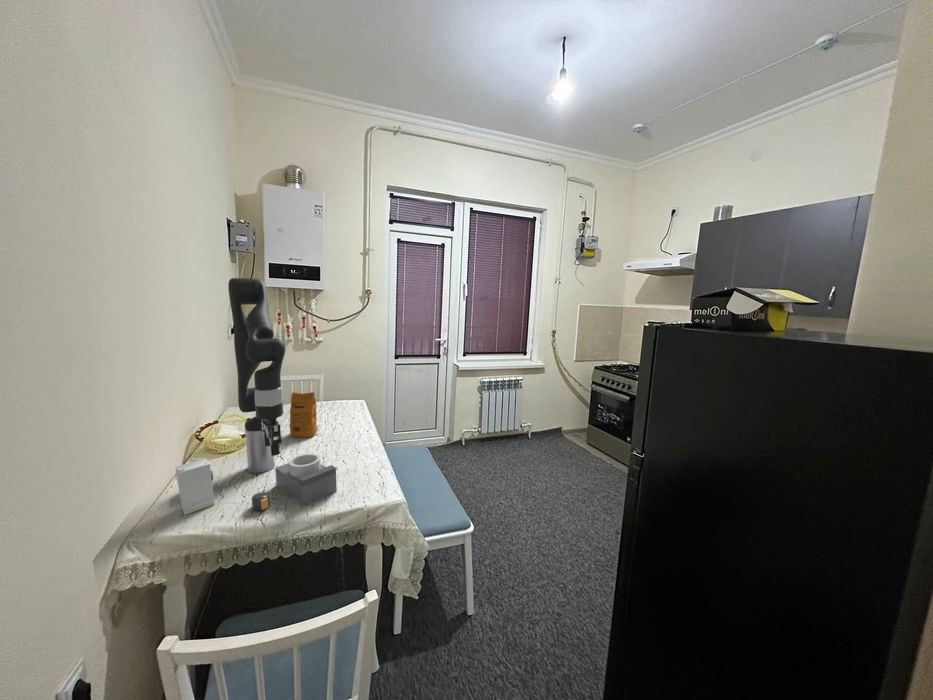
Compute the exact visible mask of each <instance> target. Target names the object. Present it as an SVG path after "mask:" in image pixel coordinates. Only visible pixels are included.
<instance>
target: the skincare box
mask: <svg viewBox="0 0 933 700" xmlns="http://www.w3.org/2000/svg"><path fill="white" fill-rule="evenodd" d="M175 471H176V479H177V484H178V492H179V498H180V505H181V509H182V511H183V514H184V516H186V515H189V514H192V513H195V512H197V511H199V510H202V509H206V508H208V507H211V506H214V505H216V502H215V496H214V495H215V494H214V487H213V481H212V477H211V471H212V470H211V463H210V461H208V459H207V458H206V457H204V458H202V459H198V460H194V461H190V462H187V463H184V464H180V465H176V466H175Z"/></svg>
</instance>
